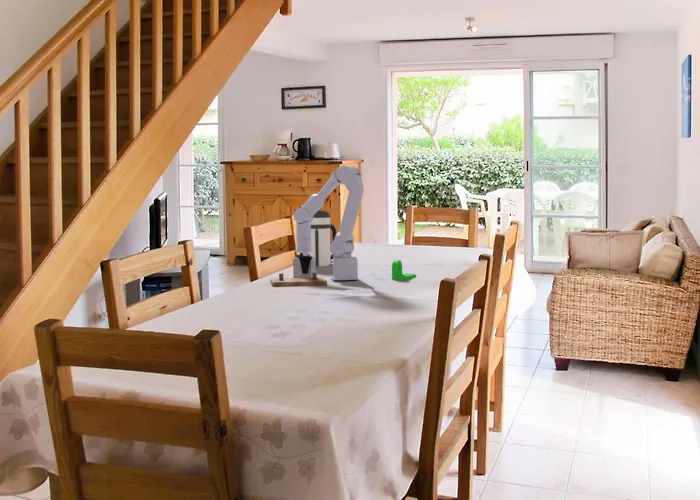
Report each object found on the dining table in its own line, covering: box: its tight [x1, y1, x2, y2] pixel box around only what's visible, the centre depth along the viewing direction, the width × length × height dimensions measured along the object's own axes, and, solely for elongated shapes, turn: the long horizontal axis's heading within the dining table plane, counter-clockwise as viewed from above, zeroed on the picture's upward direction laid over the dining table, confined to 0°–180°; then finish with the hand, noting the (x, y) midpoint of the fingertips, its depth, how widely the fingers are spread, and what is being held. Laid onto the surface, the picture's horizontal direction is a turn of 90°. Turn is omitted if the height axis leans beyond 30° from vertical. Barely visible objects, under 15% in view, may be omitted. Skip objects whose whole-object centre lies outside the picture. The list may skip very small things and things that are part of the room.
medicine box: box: [292, 257, 316, 278], centre depth 307 cm, size 8×4×9 cm, turn 72°
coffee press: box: [308, 209, 338, 267], centre depth 338 cm, size 17×16×30 cm
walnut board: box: [269, 272, 328, 288], centre depth 291 cm, size 20×15×4 cm
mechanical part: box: [391, 259, 417, 282], centre depth 304 cm, size 12×6×8 cm, turn 153°
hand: (304, 273), depth 307 cm, fingers open, 7 cm apart
